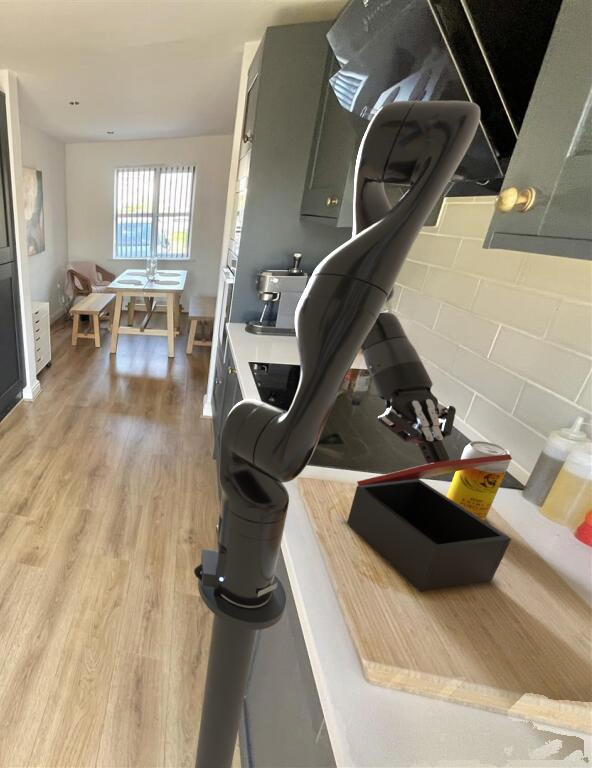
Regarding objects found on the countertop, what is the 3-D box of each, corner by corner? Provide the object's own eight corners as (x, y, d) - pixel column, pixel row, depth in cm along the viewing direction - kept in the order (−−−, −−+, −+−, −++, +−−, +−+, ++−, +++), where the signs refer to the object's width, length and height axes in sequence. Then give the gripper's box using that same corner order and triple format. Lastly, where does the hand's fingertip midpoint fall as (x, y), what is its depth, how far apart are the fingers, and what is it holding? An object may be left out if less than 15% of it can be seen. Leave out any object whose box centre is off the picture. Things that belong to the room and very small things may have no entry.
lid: (512, 459, 59) (509, 454, 60) (436, 467, 58) (434, 462, 58) (420, 478, 74) (418, 474, 75) (358, 485, 73) (356, 481, 73)
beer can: (456, 524, 75) (483, 456, 70) (434, 503, 81) (458, 439, 75) (492, 526, 74) (523, 458, 69) (468, 505, 80) (494, 440, 74)
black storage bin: (491, 581, 63) (511, 538, 60) (420, 591, 62) (436, 548, 59) (405, 516, 78) (418, 478, 75) (346, 523, 77) (356, 485, 73)
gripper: (377, 362, 66) (423, 465, 60) (447, 356, 68) (500, 456, 61) (346, 380, 73) (385, 474, 67) (411, 374, 75) (455, 466, 68)
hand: (440, 465), depth 64 cm, fingers closed
